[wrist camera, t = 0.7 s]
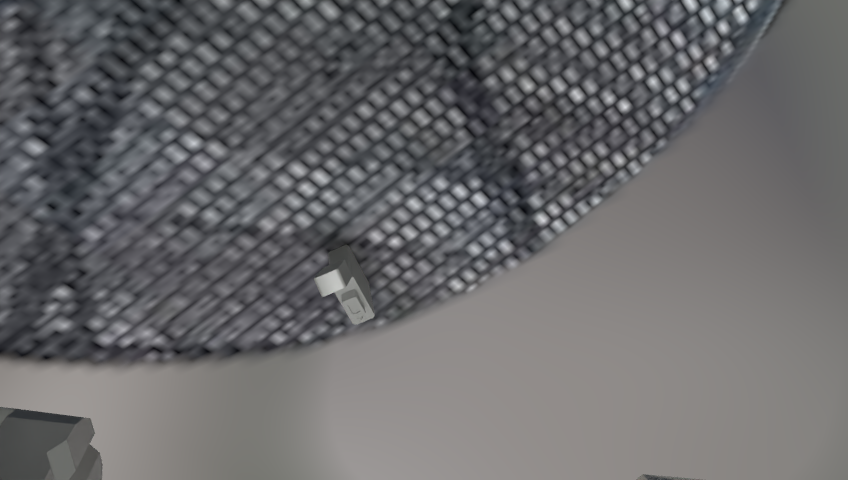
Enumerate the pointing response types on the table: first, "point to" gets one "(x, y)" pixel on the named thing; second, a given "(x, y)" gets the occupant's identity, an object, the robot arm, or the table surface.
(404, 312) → the table surface
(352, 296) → the lighter
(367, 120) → the table surface
